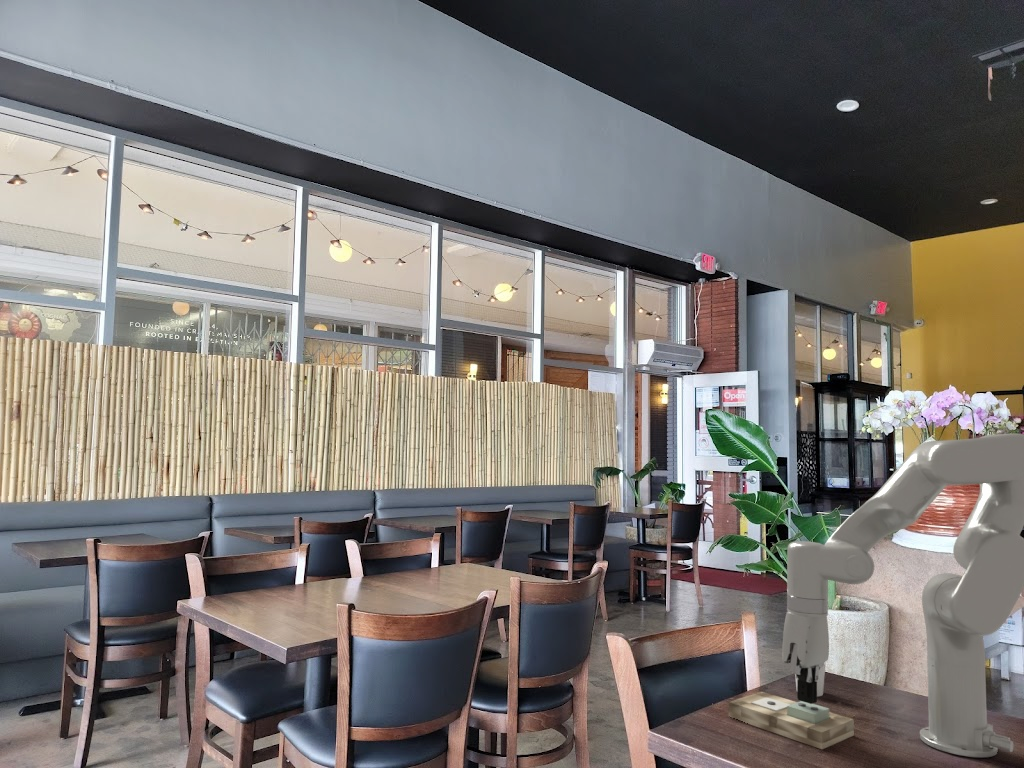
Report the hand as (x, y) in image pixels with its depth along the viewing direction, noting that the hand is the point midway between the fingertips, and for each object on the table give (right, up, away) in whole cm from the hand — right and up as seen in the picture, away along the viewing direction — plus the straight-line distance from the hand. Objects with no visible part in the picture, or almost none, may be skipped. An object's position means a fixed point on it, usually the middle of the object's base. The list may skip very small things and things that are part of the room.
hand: (807, 701), depth 144 cm
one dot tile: (-5, -5, +6) cm, 9 cm away
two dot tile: (0, -3, 0) cm, 3 cm away
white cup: (+10, -9, +24) cm, 28 cm away
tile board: (-2, -6, +2) cm, 7 cm away
